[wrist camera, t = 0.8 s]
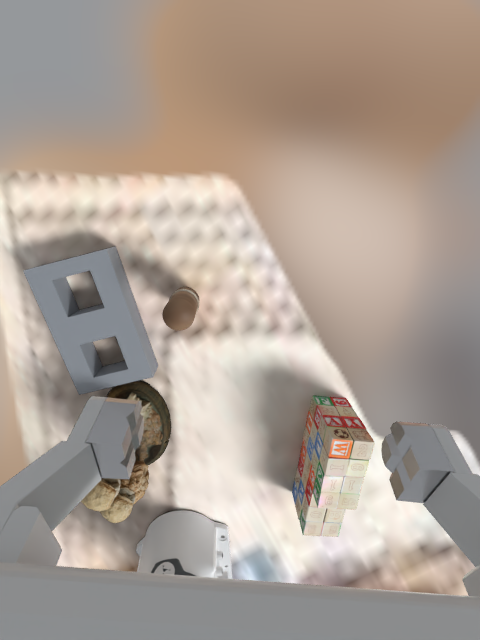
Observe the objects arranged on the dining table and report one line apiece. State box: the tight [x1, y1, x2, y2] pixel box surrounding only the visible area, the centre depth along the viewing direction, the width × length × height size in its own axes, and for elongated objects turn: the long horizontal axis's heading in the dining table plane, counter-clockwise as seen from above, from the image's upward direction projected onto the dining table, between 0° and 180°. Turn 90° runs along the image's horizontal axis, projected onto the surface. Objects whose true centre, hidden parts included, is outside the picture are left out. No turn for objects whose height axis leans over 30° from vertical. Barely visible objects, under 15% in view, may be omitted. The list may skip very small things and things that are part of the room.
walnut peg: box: [163, 287, 199, 330], centre depth 48 cm, size 4×4×10 cm
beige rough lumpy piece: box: [81, 381, 171, 523], centre depth 51 cm, size 18×12×17 cm, turn 2°
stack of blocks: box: [292, 396, 374, 537], centre depth 56 cm, size 21×6×12 cm, turn 173°
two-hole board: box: [24, 246, 158, 395], centre depth 51 cm, size 20×12×4 cm, turn 14°
